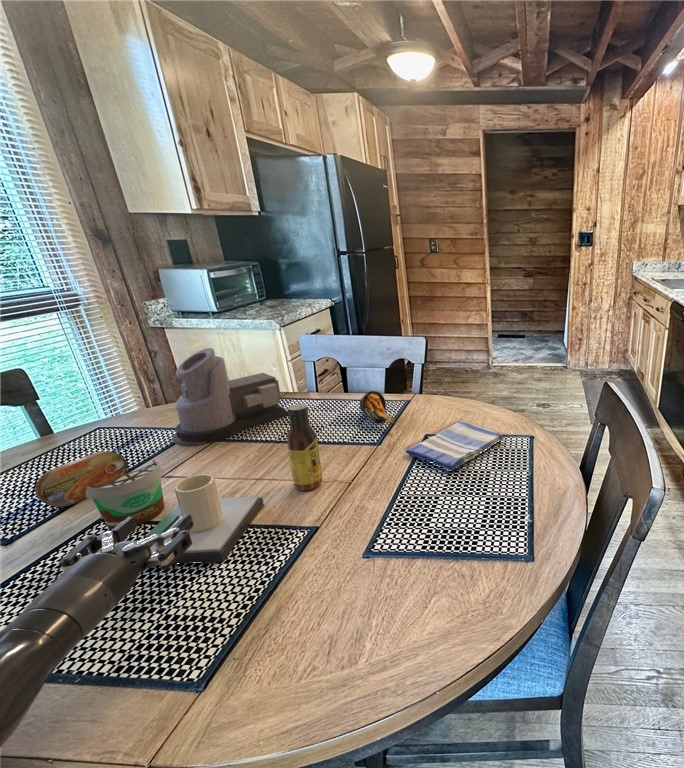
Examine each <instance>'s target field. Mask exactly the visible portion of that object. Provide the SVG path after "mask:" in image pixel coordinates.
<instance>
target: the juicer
mask: <svg viewBox="0 0 684 768" xmlns="http://www.w3.org/2000/svg"><path fill="white" fill-rule="evenodd" d="M175 375H176V378H177V380H178V383H179V388H180V391H181V395H180V396H179V397H178V399H177V400H176V402H175V404H174V405H175V409H176V413H177V416H178V417H177V418H178V421H179V423H178V424H177V425H176V427H175V433H174V434H173V436H172V437H171V441H172V442H173V443H174V444H175V445H178V446H181V447H199V446H203V445H206V444H210V443H214V442H215V443H216V442H219V441H223V440H225V439H229V438H232V437H233V436H235V435H237V434H239V433H240V432H242V431H244V430H247V429H251V428H254V427H257V426H261V425H263V424H266V423H270V422H273V421H275V420H279V419H282V418H284V417H287V416H288V417H289V414H288V410H286V409H285V408H283V407H282V406H281V405H279V404H280V401H281V400H282V397H281V389H280V384H279V380H278V379H277V378H276V377H275V376H272V375H270V374H267V373H265V372H260V373H256V374H252V375H247V376H243V377H238V378H233V379H230V380H229V376H228V372H227V368H226V363H225V359H224V358H223V357H222V356H218V355H216V354H215V350H214V348H212V347H206V348H203V349H201V350H198V351H196V352H194V353H193V354H191V355H190V356H188V357H187V358H186V359H185V360H184V361H182V362H181V364H180V365H179V366H178V367H177V369H176V371H175Z"/></svg>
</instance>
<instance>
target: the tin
mask: <svg viewBox="0 0 684 768" xmlns="http://www.w3.org/2000/svg"><path fill="white" fill-rule="evenodd" d="M127 471H128V462H127V460H126V458H125V457H124V456H123V455H122V454H120V453H117V452H113V451H96V452H93V453H91V454H88V455H86V456H83V457H80V458H78V459H75V460H72V461H70V462H66V463H65V464H62V465H59V466H57V467H54V468H51V469H49V470H47V471H46V472H45V473H43V474H42V475H41V476H40V477H39V478H38V480H37V481H36V484H35V487H34V492H35V496H36V497H37V499H38V500H39V501H40V502H41V503H44V504H46V505H48V506H51V507H56V508H65V507H68V506H69V507H70V506H72V505H74V504H77V503H79V502H81V501H83V500H86V499H87V498H86V490H87V487H90V488H97V487H100V486H102V485H104V484H106V483H108V482H110V481H112V480H114V479H116V478H118V477H119V476H121V475H124V474H126V473H128V472H127Z"/></svg>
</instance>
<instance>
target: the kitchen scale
mask: <svg viewBox="0 0 684 768" xmlns="http://www.w3.org/2000/svg"><path fill="white" fill-rule="evenodd" d="M219 499H220V503H221V507H222V511H223V520H222V521H221V522H220V523H219V524H218V525H217V526H215V527H213V528H211V529H209V530H206V531H202V532H189V533H190V537H191V540H192V545H191V546H190V547H189V548H188V549H187V550H186V551H185V552H184V553H183V554H182V555H181V556H180V557H179V559H178V560H177V561H176V562H175V563H174V564H177V563H189V562H215V563H224V562H225V560H226V559H227V558H228V556H229V555H230V554H231V552H232V550H234V548H235V546H236V545H237V543H238V542H239V541H240V539H241V538H242V536H243V535H244V534H245V532H246V531H247V529H248V528H249V527H250V525H251V524H252V522H253V521H254V519H255V518H256V516H257V515H258V514H259V512H260V511H261V510H262V508H263V507H264V500H263V497H259V496H239V497H238V496H237V497H235V496H234V497H219ZM181 518H182V514H181V510H180V507H179V503H178V504H177V505H176V506H175V507H174V508H173V509H172V510H171V511H170V512H169V513H168V514H167V515H166V516H164V517H163V519H161V521H160V522H158V524H156V525H155V526H154V527H153V528H152V529H151V530H150V531H149V532H148V533H147V534H146V535H145V536H144V537H143V538H142V539H141V540H144V539H146V538H148V537H150V536H152V535H154V534H159V535H160V534H163V533H165V532H167V531H169V530H171V529H172V527H173V526H174V525H175V524H176V523H177V522H178V521H179V520H180V519H181ZM170 541H172V539H171V537H169V538H167V539H165V540H164V544H166V543H168V542H170ZM150 549H151V553H153V552H155V551H156V546H155V542H154V543H152V544H150ZM223 561H224V562H223Z"/></svg>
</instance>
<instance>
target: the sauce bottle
mask: <svg viewBox="0 0 684 768" xmlns="http://www.w3.org/2000/svg"><path fill="white" fill-rule="evenodd" d="M286 411H288V414H289V415H288V417H289V426H290V428H289V430H288V431H287V434H286V442H287V452H288V457H289V464H290V471H291V477H292V482H293V485H294V488H295V489H296V490H298V491H301V492H303V491H305V492H306V491H312V490H314V489H316V488H318V487H319V486H321V484H322V483H323V472H322V471H323V470H322V462H321V456H320V448H319V441H318V435H317V434H316V431H315V430H314V429H313V427H312V426H311V424H310V421H309V408H308V405H307V404H305V403H297V404H293V405H292V404H291V405H290V406H288V407H287V410H286Z"/></svg>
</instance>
